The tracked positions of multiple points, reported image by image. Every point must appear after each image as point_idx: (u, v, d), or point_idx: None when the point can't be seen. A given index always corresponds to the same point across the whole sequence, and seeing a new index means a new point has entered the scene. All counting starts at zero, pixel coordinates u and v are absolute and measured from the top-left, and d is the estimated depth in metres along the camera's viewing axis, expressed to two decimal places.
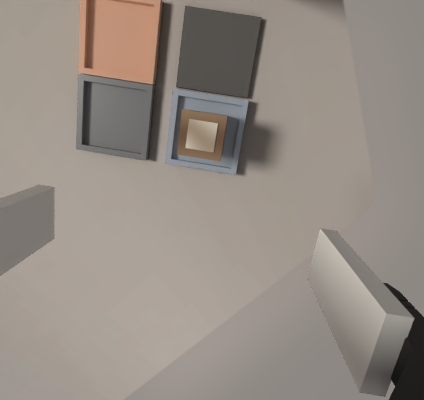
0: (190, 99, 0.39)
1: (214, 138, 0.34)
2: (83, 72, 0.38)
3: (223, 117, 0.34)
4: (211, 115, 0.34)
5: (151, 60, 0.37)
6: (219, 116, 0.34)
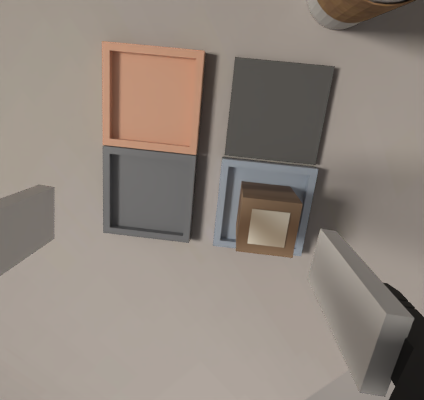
0: (242, 168, 0.31)
1: (285, 230, 0.27)
2: (108, 144, 0.31)
3: (297, 205, 0.26)
4: (281, 203, 0.26)
5: (193, 126, 0.30)
6: (292, 204, 0.26)
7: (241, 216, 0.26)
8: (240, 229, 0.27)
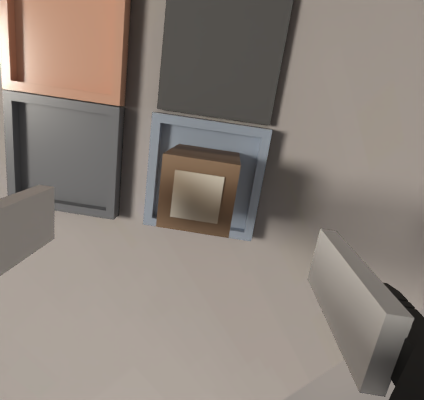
0: (179, 127, 0.25)
1: (219, 201, 0.20)
2: (10, 88, 0.24)
3: (234, 167, 0.20)
4: (213, 164, 0.20)
5: (115, 68, 0.23)
6: (227, 165, 0.20)
7: (161, 179, 0.20)
8: (160, 197, 0.20)
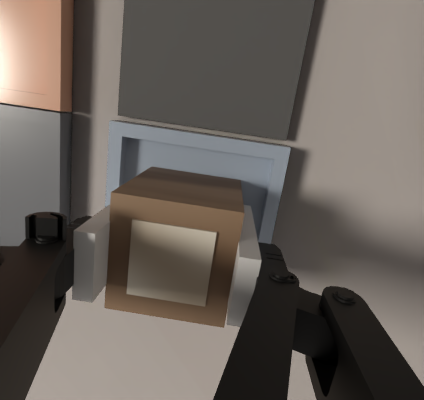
0: (152, 142, 0.17)
1: (207, 271, 0.12)
2: None
3: (232, 216, 0.11)
4: (197, 210, 0.11)
5: (52, 53, 0.15)
6: (220, 213, 0.11)
7: (110, 235, 0.12)
8: (110, 263, 0.12)
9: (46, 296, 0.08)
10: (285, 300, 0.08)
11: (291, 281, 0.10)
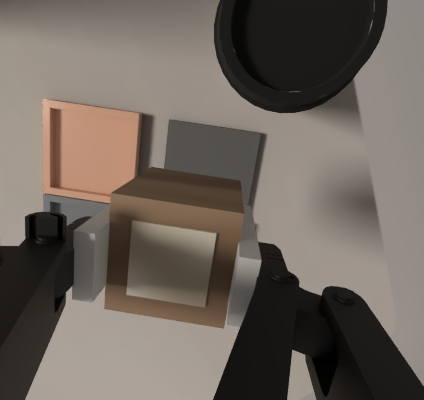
0: None
1: (207, 271, 0.12)
2: (49, 192, 0.32)
3: (232, 217, 0.11)
4: (197, 211, 0.11)
5: (129, 180, 0.31)
6: (220, 214, 0.11)
7: (110, 236, 0.12)
8: (110, 264, 0.12)
9: (46, 296, 0.08)
10: (285, 300, 0.09)
11: (291, 281, 0.10)
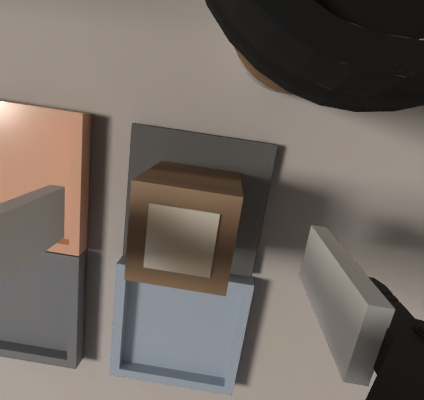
0: None
1: (212, 247, 0.14)
2: None
3: (233, 200, 0.14)
4: (203, 195, 0.14)
5: (73, 217, 0.20)
6: (223, 197, 0.14)
7: (130, 216, 0.14)
8: (130, 241, 0.14)
9: None
10: None
11: None
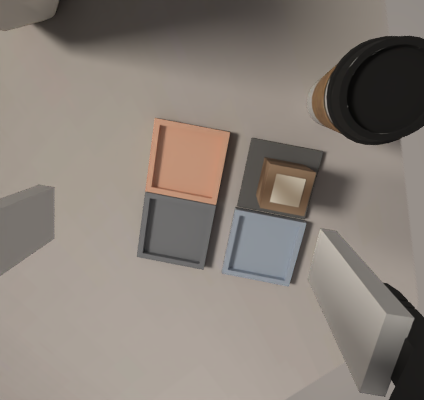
0: (249, 217, 0.41)
1: (300, 193, 0.34)
2: (150, 191, 0.40)
3: (312, 173, 0.33)
4: (299, 171, 0.33)
5: (216, 184, 0.40)
6: (308, 172, 0.33)
7: (267, 179, 0.34)
8: (265, 190, 0.34)
9: None
10: None
11: None
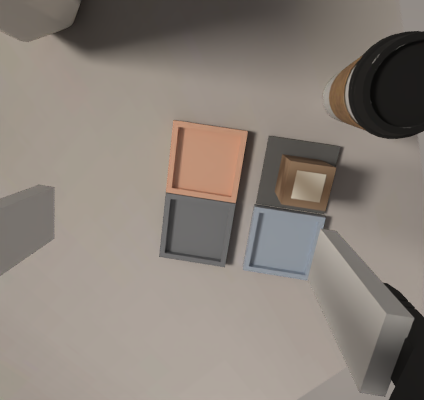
0: (268, 213, 0.42)
1: (321, 189, 0.34)
2: (170, 192, 0.41)
3: (332, 169, 0.34)
4: (320, 167, 0.34)
5: (235, 183, 0.40)
6: (328, 168, 0.34)
7: (288, 176, 0.34)
8: (286, 186, 0.35)
9: None
10: None
11: None
